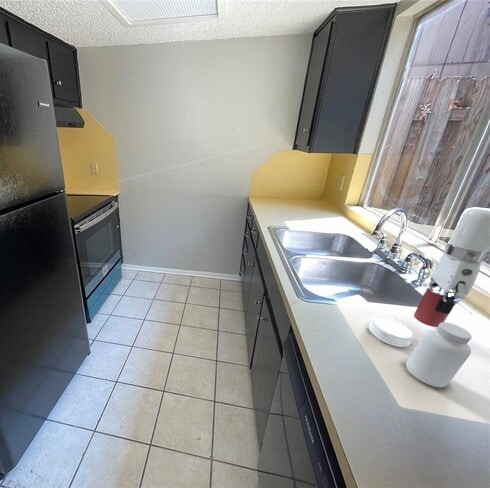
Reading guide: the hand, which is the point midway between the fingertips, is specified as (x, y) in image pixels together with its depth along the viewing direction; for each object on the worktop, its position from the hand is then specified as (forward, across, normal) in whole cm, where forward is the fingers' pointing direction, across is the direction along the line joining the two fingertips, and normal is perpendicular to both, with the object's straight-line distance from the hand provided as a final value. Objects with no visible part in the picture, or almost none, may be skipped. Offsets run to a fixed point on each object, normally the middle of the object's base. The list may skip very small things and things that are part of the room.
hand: (435, 304), depth 79 cm
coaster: (+9, -10, +12) cm, 18 cm away
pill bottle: (+9, -23, +7) cm, 26 cm away
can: (+6, 0, 0) cm, 6 cm away
